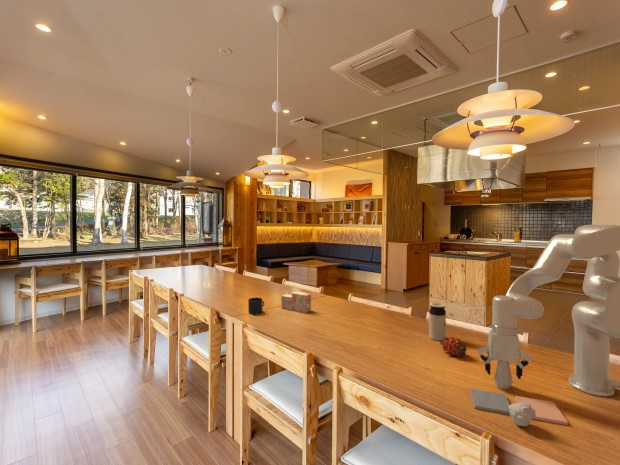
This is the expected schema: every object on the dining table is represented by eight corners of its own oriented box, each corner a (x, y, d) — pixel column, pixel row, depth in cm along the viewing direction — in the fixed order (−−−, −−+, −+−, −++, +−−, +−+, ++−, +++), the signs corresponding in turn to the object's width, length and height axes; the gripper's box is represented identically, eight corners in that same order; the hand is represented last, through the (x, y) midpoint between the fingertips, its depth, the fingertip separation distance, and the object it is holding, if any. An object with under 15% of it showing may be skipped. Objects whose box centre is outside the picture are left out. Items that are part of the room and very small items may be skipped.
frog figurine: (534, 435, 88) (535, 412, 88) (506, 425, 93) (506, 402, 92) (536, 425, 93) (537, 402, 92) (509, 415, 97) (510, 394, 97)
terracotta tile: (553, 404, 103) (553, 401, 103) (567, 425, 92) (567, 422, 92) (514, 398, 106) (515, 395, 106) (524, 417, 96) (524, 414, 96)
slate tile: (505, 396, 107) (505, 394, 107) (513, 415, 97) (513, 412, 97) (469, 391, 111) (469, 388, 111) (474, 408, 101) (474, 405, 101)
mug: (268, 311, 213) (268, 298, 213) (253, 315, 205) (253, 301, 204) (260, 308, 220) (260, 296, 219) (245, 312, 211) (245, 299, 211)
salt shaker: (495, 380, 118) (495, 347, 118) (513, 385, 115) (513, 351, 114) (492, 387, 114) (493, 352, 113) (511, 392, 110) (511, 357, 110)
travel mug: (426, 338, 162) (427, 304, 161) (432, 334, 167) (432, 301, 167) (442, 342, 156) (442, 307, 156) (447, 338, 162) (448, 304, 161)
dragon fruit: (467, 363, 136) (441, 358, 145) (472, 347, 141) (447, 343, 150) (460, 350, 134) (434, 346, 143) (465, 335, 138) (440, 332, 148)
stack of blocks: (281, 308, 220) (281, 291, 220) (286, 306, 225) (286, 289, 225) (306, 313, 208) (306, 295, 208) (311, 310, 214) (311, 293, 213)
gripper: (528, 329, 114) (527, 374, 115) (475, 324, 120) (475, 367, 121) (535, 336, 107) (534, 384, 107) (479, 330, 113) (478, 376, 113)
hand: (503, 375), depth 114 cm, fingers open, 9 cm apart
